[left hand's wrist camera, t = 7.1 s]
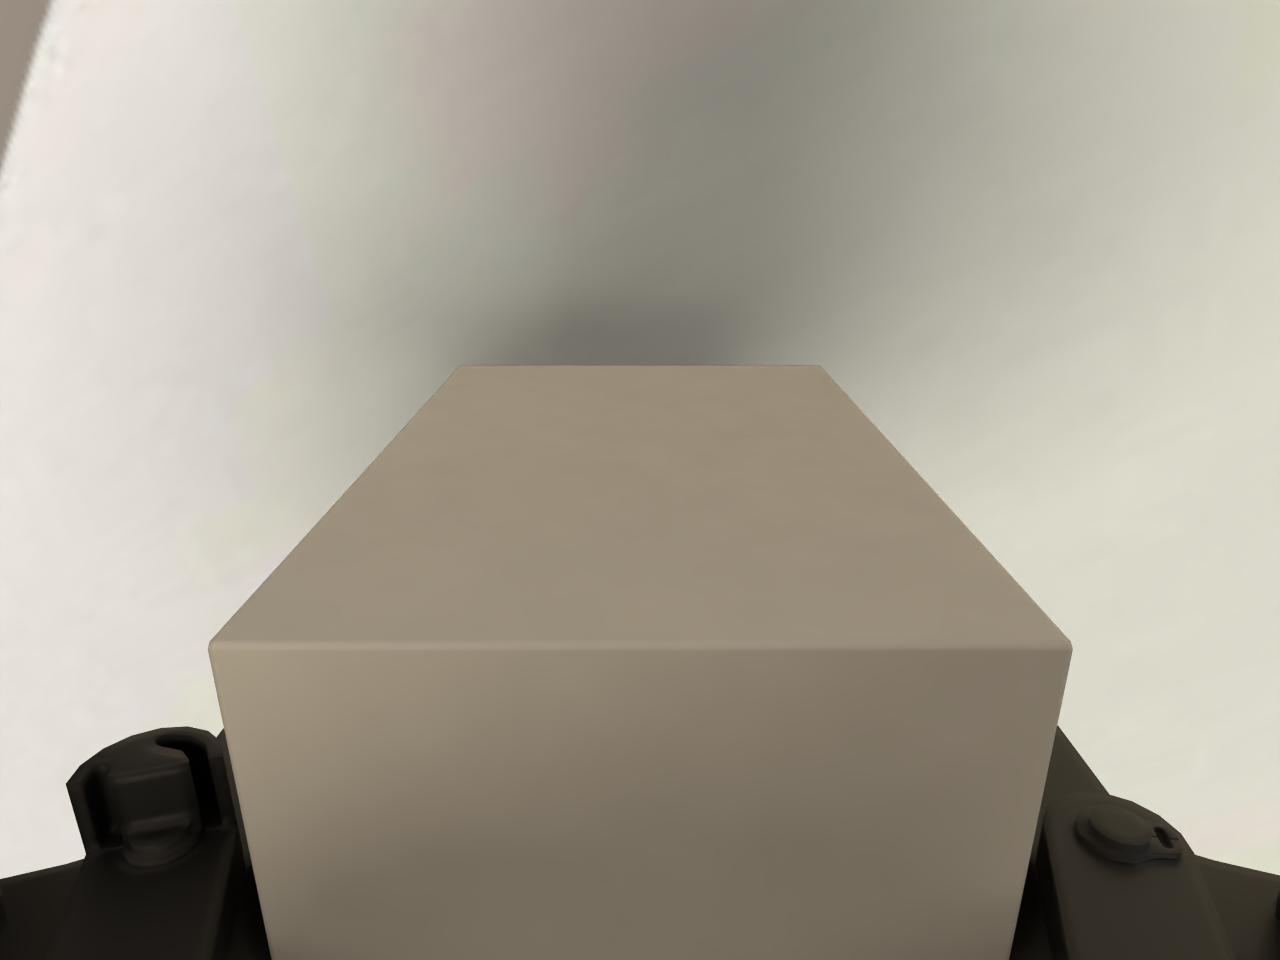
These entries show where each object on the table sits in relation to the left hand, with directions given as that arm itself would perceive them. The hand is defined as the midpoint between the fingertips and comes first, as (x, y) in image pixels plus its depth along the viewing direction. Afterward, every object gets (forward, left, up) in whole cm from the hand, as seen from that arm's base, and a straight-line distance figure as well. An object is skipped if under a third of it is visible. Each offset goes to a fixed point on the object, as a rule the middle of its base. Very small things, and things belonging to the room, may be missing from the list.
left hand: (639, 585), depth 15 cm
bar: (+8, +4, 0) cm, 9 cm away
